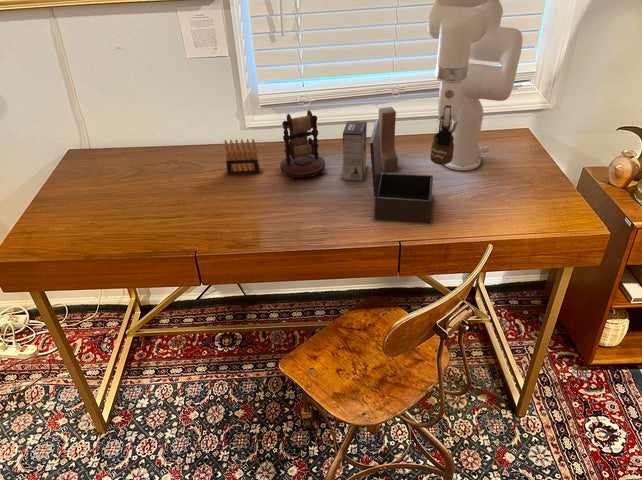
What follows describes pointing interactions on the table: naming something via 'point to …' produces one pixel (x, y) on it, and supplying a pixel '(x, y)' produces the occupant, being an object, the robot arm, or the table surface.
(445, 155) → the utensil holder
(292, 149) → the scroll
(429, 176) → the black box
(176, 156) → the table surface
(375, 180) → the lid
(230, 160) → the ammunition clip
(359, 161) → the coffee box
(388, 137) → the wooden block
